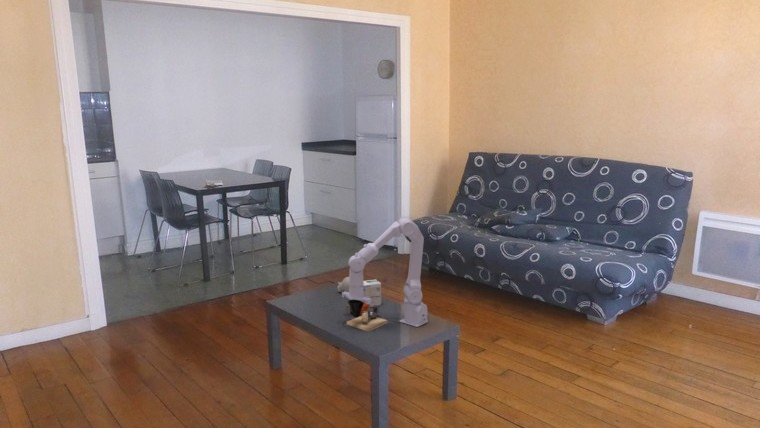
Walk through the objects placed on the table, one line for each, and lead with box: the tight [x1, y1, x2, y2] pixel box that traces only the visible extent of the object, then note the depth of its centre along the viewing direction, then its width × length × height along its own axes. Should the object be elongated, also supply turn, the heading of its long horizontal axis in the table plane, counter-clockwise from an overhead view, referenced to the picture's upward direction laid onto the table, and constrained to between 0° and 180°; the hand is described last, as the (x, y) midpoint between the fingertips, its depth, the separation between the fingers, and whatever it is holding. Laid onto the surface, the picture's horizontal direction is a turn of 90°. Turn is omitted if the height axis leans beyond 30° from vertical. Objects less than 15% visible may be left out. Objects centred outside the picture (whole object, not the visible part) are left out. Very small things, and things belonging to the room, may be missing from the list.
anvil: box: [343, 302, 353, 317], centre depth 248 cm, size 3×7×4 cm, turn 163°
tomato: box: [360, 303, 371, 316], centre depth 247 cm, size 7×7×8 cm
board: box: [346, 315, 388, 332], centre depth 236 cm, size 12×12×1 cm
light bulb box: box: [363, 279, 382, 308], centre depth 258 cm, size 11×7×11 cm, turn 111°
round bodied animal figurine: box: [337, 276, 349, 293], centre depth 274 cm, size 7×12×8 cm, turn 46°
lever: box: [361, 305, 380, 324], centre depth 238 cm, size 16×4×5 cm, turn 161°
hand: (356, 316), depth 234 cm, fingers closed
